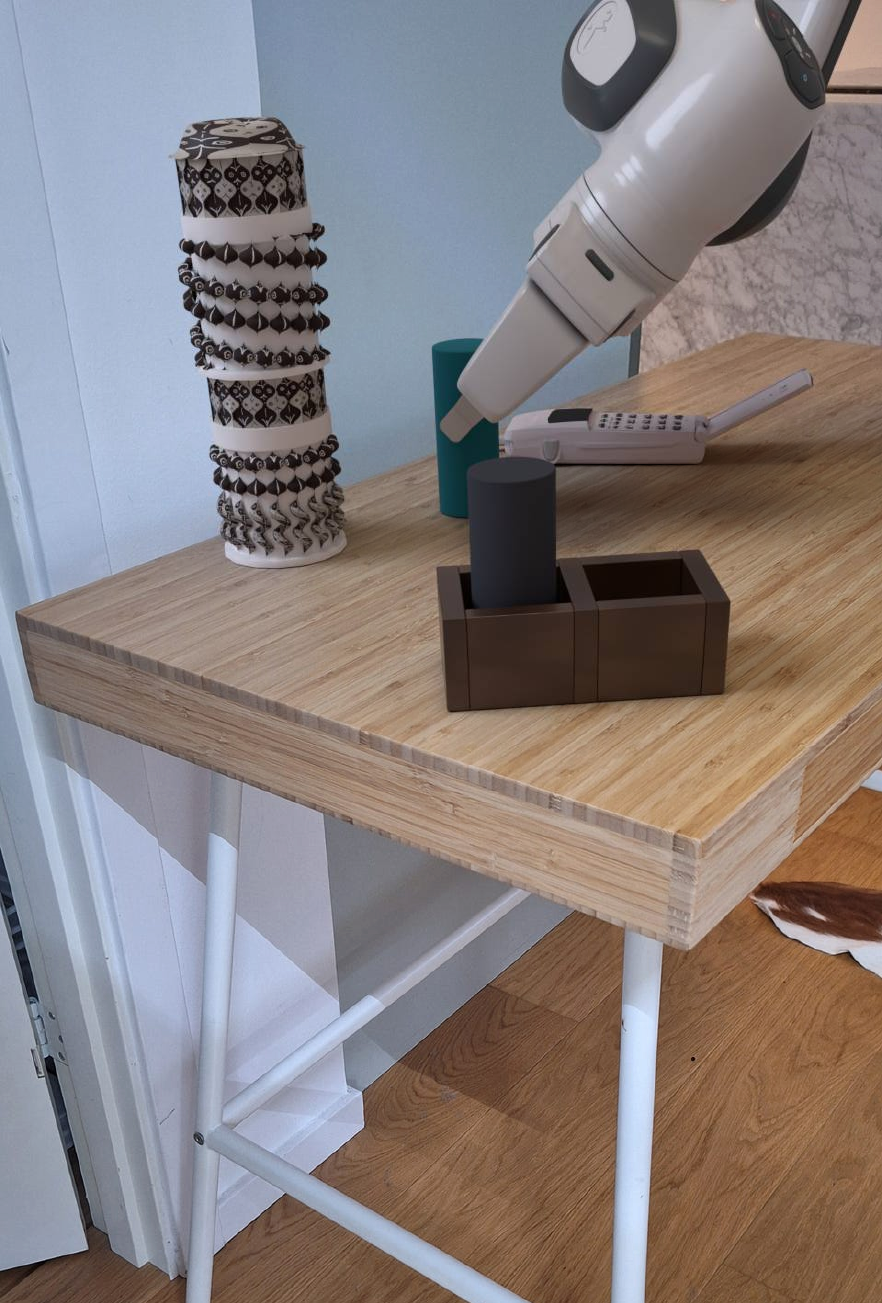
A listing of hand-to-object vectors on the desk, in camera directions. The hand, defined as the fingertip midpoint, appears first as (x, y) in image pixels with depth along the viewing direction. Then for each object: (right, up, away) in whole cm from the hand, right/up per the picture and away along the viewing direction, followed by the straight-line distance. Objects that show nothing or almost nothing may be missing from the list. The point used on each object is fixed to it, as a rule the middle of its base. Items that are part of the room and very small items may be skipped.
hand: (458, 422), depth 94 cm
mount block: (+6, -22, -21) cm, 31 cm away
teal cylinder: (+1, -5, +3) cm, 6 cm away
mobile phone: (+15, +2, +12) cm, 19 cm away
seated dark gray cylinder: (+3, -22, -21) cm, 31 cm away
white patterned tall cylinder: (-12, -9, -2) cm, 15 cm away
